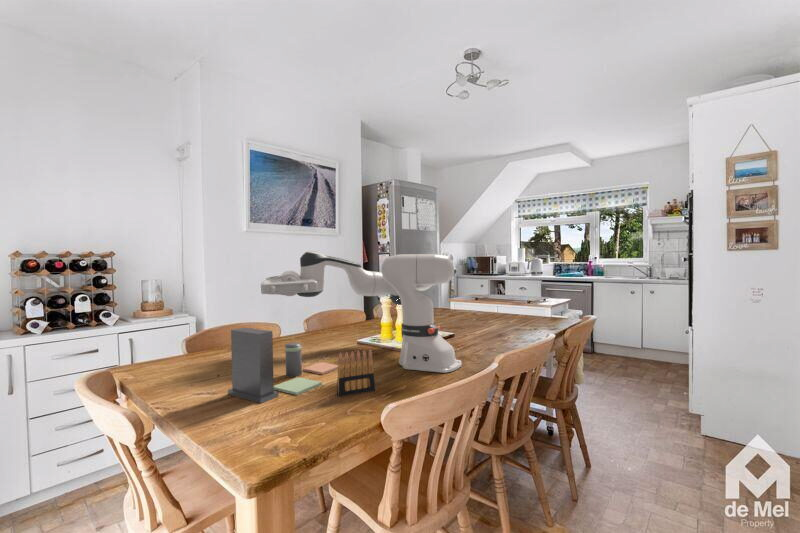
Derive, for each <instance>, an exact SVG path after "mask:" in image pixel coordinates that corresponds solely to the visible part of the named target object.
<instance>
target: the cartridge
mask: <svg viewBox="0 0 800 533" xmlns="http://www.w3.org/2000/svg"><path fill="white" fill-rule="evenodd" d="M302 347H303V346H302V343H301V342H289V343H285V346H284V351H285V376H286V377H287V376H288V378H297V377H296V376H298V377H300V376H302V375H303V368H302V366H303V364H302Z"/></svg>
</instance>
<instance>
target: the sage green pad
mask: <svg viewBox="0 0 800 533" xmlns="http://www.w3.org/2000/svg"><path fill="white" fill-rule="evenodd" d="M322 385H323V381H318V380H313V379H308V378H304V377H300V376H298V377H293V378H292V379H289V380H287V381H284V382H281V383H278V384H276V385H274V391H277V390H278V391H277V392H281V391H282V393H285V392H286V394H289V393H290V395H294V396H299V395H301V394H303V393H305V392H308V391H311V390H313V389H316V388H318V387H320V386H322Z"/></svg>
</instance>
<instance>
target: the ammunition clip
mask: <svg viewBox="0 0 800 533" xmlns="http://www.w3.org/2000/svg"><path fill="white" fill-rule="evenodd" d="M350 352H351V353H350V357H349V354H348V352H347V351H346V352H345V354H344V358H343V355H342V352H341V351H340V352H339V354H338V359H337V360H338V361H337V362H338V363H337V365H338V369H337V380H336V381H337V382H336V383H337V384H336V395H337V396H338V397H345V396H350V395H356V394H357V395H358V394H362V393H368V392H369V393H370V392H375V391H376V389H375V387H376V386H375V373H374V361H373V359H374V358H373V352H372V349H371V348H369V349H368V354H367V352H366V349H363V351H362V354H361V353H360V350H357V352H356V355H355V353H354V351H353V350H352V351H350ZM361 355H362V356H361ZM355 356H356V358H355ZM361 357H362V358H361ZM349 358H350V359H349ZM343 359H344V362H343ZM349 361H350V362H349Z"/></svg>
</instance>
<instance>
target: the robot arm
mask: <svg viewBox="0 0 800 533" xmlns="http://www.w3.org/2000/svg"><path fill="white" fill-rule="evenodd" d="M299 261H300V263H299V264H300V271H299V272H300V273H299V274H298V273H297V272H296V271H294V270H286V271H284V272H282V273H281V274H280V275H276V276H269V277H266V279H265V280H264V281H262V282H261V284H260V294H262V295H280V296H286V297H293V296H296V295H298V296H299V297H303V298H314V297H317V296H319V295H320V294H322V293H323V292H324V286H325V285H324V284H325V267H326V266H330V267H333V268H338V269H342V270H344V271H345V273H346V275H347V277H348V281H349V285H350V286H351V289H352V290H353V291H354V293H356V294H357V295H359V296H364V297H378V296H384V295H385V296H387V295H390V296H389V297H390V298H388V299H389V300H391V302H392V303H393V305H395V306H398V305H402V307H401V310H402V311H401V312H402V313H401V314H402V322H401V328H400V329H401V331H400V332H401V338H402V340H401V348H400V356H399V360H398V364H399V365H400V366H401V367H402V369H404V370H409V371H410V370H412V371H413V370H414V371H421V372H432V373H433V372H435V373H443V374H445V373H450V372H454V371H457V370H458V369H460V367H462V365H463V364H462V363H463V361H462V360H461V359H456V354H455V349H454V346H452V345H451V344H450V343H449V342H448V341H447V340H446V339H444V338H443V336H441V335H440V334H439V330H441V328H440V327H441V325H438V326H437V325H436V324H435V322H434V303H433V300H432V299H431V298H430V297H429V296H428V295H427V296H426V295H424V294H423V293H421V292H423V291H427V290H429V289H430V288H431V287H432V286H433V287H434V286H437V285H442V284H447V283H449V282H450V281H451V280H452V279H453V276H454V273H455V267H454V263H453V261H452V259H451V258H450V257H449V256H448V255H443V254H439V253H438V254H437V253H418V254H417V253H405V254H404V253H402V254H394V255H389V256H387V257H385V259H384V260H383V262H382V264H381V268H380V269H381V272H380V271H371V270H366V269H364V268H363V267H362V264H360V263H358V262H355V261H351V260H348V259H343V258H339V257H335V256H329V255H325V254H324V253H320V252H317V251H312V250H309V251H305V252H304V253H303V254H302V255H301V256H300V258H299ZM399 298H400V299H399ZM397 299H398V300H397ZM396 300H397V301H396ZM397 304H398V305H397Z"/></svg>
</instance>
